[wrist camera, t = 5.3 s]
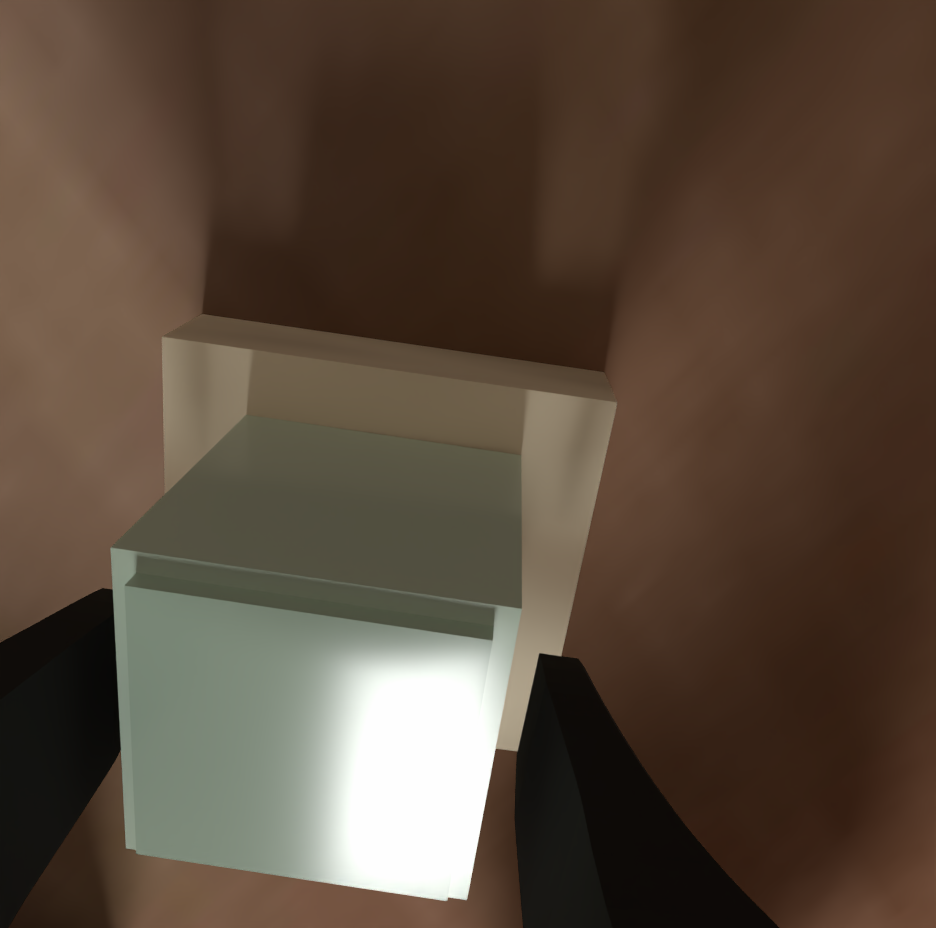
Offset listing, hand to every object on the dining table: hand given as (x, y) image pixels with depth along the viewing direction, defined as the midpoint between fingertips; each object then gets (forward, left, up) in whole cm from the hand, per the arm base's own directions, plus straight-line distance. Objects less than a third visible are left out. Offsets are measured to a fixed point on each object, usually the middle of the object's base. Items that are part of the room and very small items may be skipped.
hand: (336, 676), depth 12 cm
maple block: (0, 0, -6) cm, 6 cm away
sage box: (0, 0, -3) cm, 3 cm away
